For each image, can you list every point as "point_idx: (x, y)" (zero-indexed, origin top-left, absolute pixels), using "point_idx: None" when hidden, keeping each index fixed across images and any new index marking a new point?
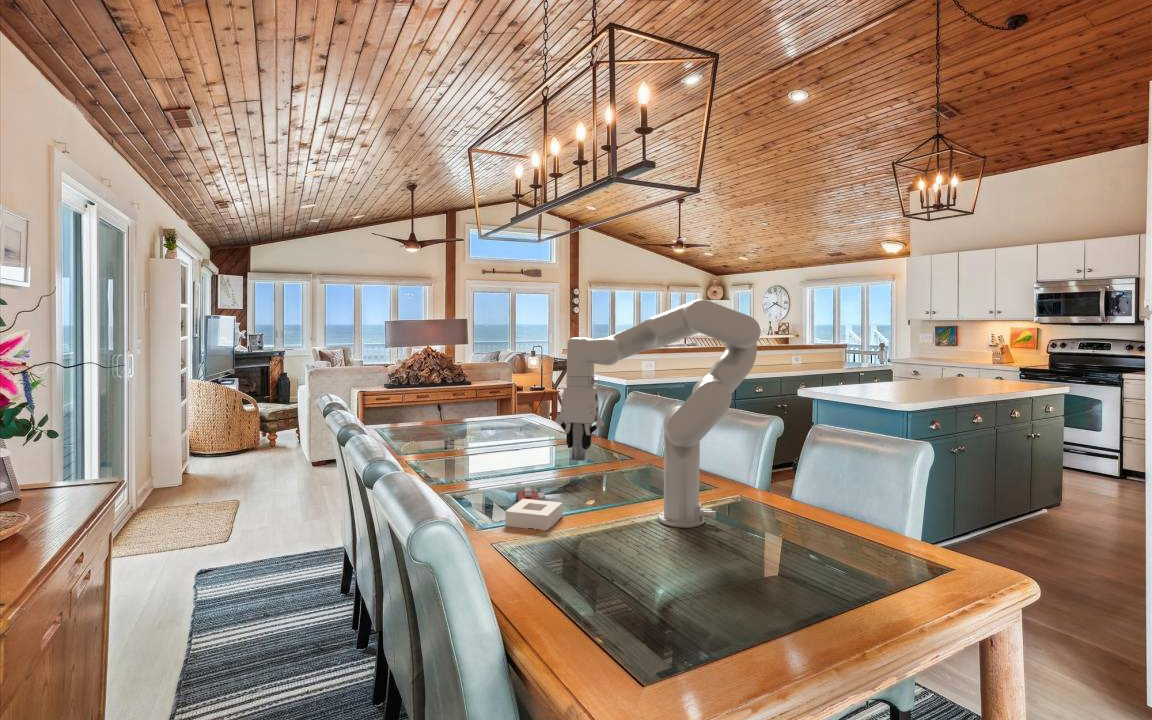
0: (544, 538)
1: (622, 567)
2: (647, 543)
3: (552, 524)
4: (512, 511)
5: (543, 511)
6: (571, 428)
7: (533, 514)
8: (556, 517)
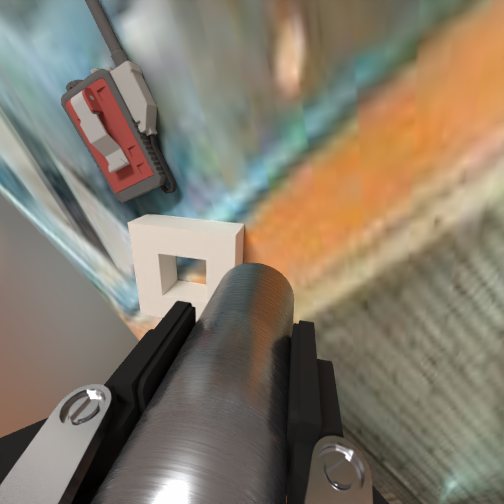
0: None
1: (398, 431)
2: (458, 350)
3: None
4: (154, 313)
5: None
6: (90, 445)
7: None
8: None
